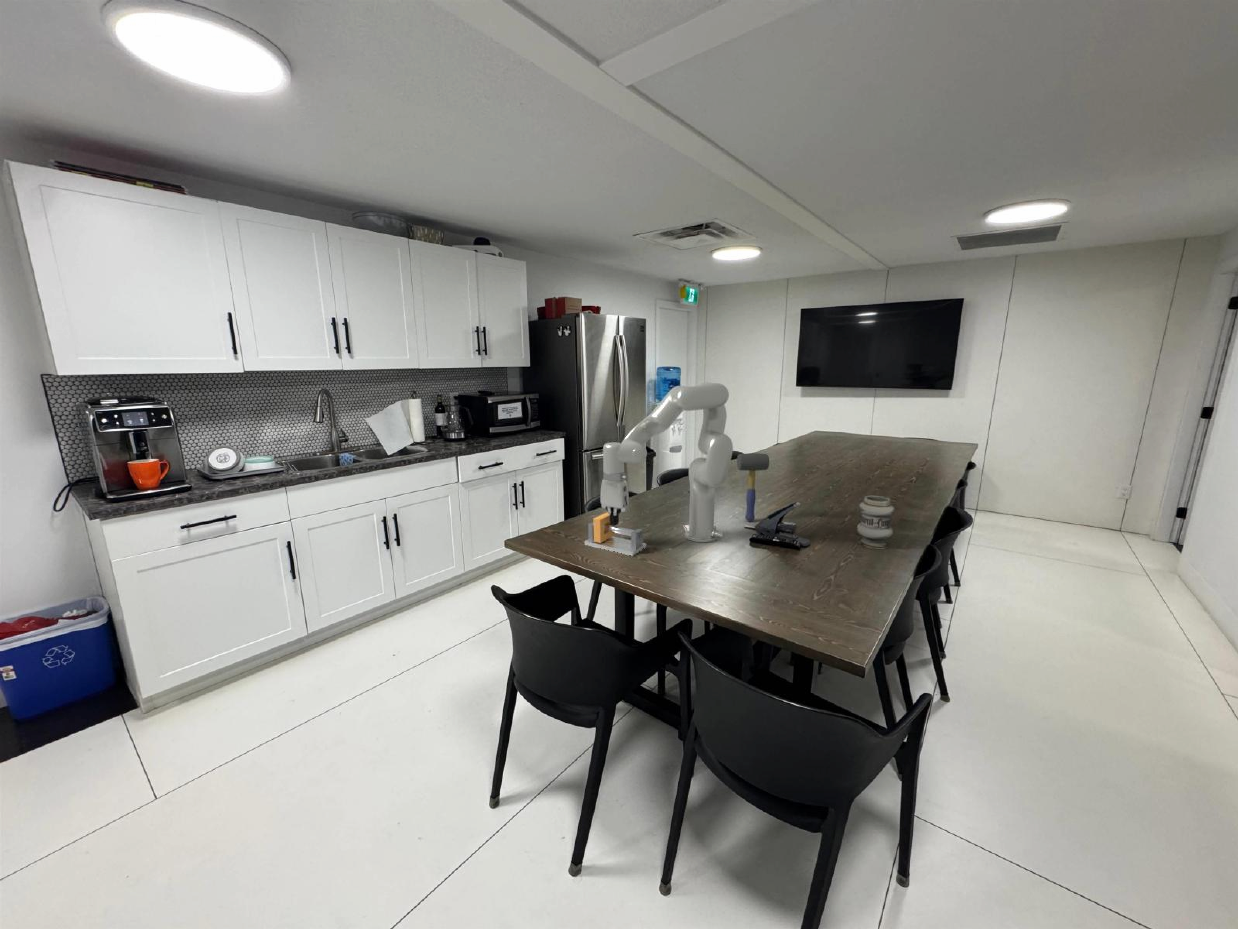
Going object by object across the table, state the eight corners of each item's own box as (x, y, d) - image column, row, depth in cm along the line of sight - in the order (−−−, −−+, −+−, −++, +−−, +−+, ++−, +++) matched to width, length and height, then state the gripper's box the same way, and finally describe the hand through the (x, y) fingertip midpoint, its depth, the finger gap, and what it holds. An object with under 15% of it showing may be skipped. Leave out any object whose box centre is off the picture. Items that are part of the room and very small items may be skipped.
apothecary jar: (848, 540, 184) (852, 495, 181) (872, 537, 188) (877, 492, 184) (873, 551, 173) (878, 503, 169) (899, 548, 176) (904, 500, 173)
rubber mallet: (761, 518, 212) (765, 451, 206) (766, 523, 204) (770, 454, 199) (733, 518, 212) (736, 451, 206) (737, 524, 204) (740, 454, 199)
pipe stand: (646, 547, 178) (646, 527, 177) (632, 556, 170) (632, 535, 168) (599, 537, 189) (599, 518, 188) (584, 544, 181) (584, 525, 179)
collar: (613, 535, 185) (613, 513, 183) (600, 542, 177) (600, 519, 176) (607, 534, 186) (607, 512, 185) (593, 541, 179) (593, 518, 177)
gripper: (636, 477, 174) (636, 525, 177) (602, 472, 182) (603, 518, 185) (625, 481, 167) (625, 531, 171) (591, 476, 175) (592, 524, 179)
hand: (614, 524), depth 178 cm, fingers closed
